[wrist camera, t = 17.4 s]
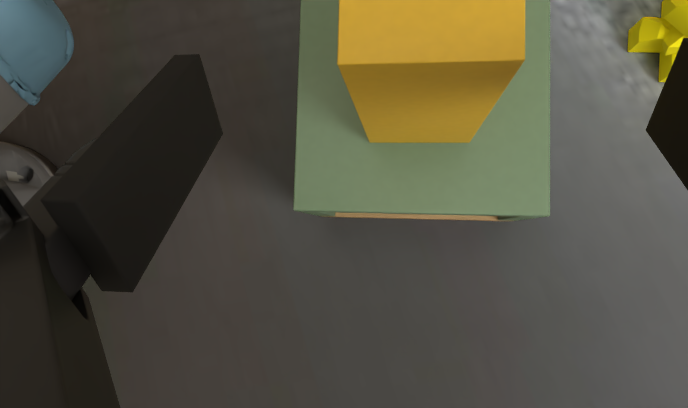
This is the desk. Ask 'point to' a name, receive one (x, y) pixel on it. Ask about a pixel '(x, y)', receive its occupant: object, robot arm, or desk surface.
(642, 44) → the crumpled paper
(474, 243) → the desk surface
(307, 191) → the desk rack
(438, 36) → the package
